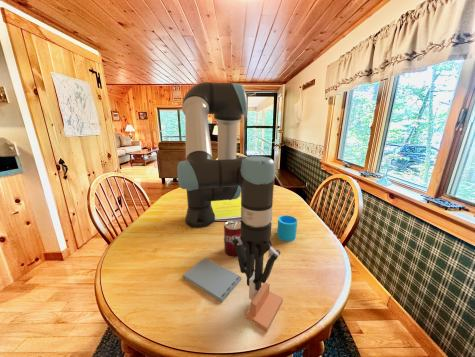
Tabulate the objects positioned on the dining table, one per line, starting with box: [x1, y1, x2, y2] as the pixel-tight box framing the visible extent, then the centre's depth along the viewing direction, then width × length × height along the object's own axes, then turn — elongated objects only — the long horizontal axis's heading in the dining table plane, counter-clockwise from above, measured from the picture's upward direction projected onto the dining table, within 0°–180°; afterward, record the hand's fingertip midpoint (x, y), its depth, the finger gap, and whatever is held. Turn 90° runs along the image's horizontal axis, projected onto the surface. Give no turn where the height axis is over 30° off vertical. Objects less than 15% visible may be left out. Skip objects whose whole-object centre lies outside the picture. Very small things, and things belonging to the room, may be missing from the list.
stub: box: [245, 281, 284, 332], centre depth 52 cm, size 6×10×5 cm, turn 146°
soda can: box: [223, 220, 241, 258], centre depth 74 cm, size 7×7×12 cm
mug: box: [276, 214, 298, 242], centre depth 87 cm, size 12×8×8 cm
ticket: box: [182, 257, 242, 303], centre depth 63 cm, size 16×10×2 cm, turn 56°
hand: (253, 296), depth 54 cm, fingers closed
